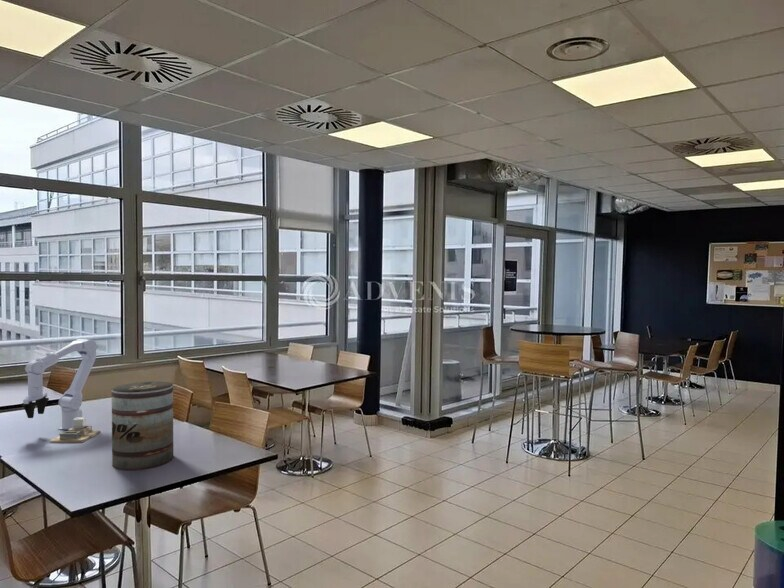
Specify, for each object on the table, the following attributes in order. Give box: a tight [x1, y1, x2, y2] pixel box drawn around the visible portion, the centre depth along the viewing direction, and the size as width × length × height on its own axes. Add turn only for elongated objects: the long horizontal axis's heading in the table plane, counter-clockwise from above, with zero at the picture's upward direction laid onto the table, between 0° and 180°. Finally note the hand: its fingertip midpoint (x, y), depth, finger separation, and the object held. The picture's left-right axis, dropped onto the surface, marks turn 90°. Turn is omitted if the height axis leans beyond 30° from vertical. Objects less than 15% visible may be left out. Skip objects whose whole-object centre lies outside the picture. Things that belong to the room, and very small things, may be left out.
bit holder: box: [49, 425, 101, 444], centre depth 249 cm, size 16×14×4 cm
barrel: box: [111, 380, 174, 471], centre depth 217 cm, size 22×22×30 cm
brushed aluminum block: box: [73, 416, 87, 430], centre depth 252 cm, size 4×4×7 cm
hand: (35, 415), depth 251 cm, fingers open, 7 cm apart
